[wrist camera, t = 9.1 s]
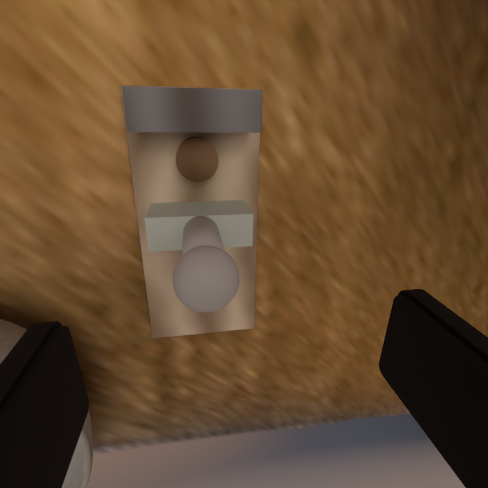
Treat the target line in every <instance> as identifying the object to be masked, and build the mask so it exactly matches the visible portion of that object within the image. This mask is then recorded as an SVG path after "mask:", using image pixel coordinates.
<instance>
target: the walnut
mask: <svg viewBox="0 0 488 488" xmlns="http://www.w3.org/2000/svg"><path fill="white" fill-rule="evenodd" d="M218 164H219V159H218V154H217V151H216V149H215V148H214V147H213V145H212V144H211V143H209V142H208V141H207V140H206V139H204V138H201V137H190V138H187V139H186V140H184V141H183V142H182V143H181V144H180V146H179V148H178V150H177V153H176V166H177V168H178V170H179V172H180V173H181V175H182V176H183V177H185V178H186V179H188V180H190V181H193V182H203V181H206V180H208V179H210V178H211V177H212V176H213V175H214V174H215V172H216V170H217V168H218Z"/></svg>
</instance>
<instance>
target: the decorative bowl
mask: <svg viewBox="0 0 488 488" xmlns="http://www.w3.org/2000/svg"><path fill="white" fill-rule="evenodd" d="M26 330H27V329H25V328H23V327H21V326H19V325H16V324H14V323H11V322H8V321H5V320H2V319H0V364H1V363H2V361H3V360H4V359H5V357H6V356H7V355H8V354H9V352H10V351H11V350H12V348H13V347H14V346H15V345H16V343H17V342H18V341H19V339H20V338H21V337H22V335H23V334H24V333H25V332H26ZM92 460H93V435H92V425H91V417H90V412H89V409H88V414H87V417H86V420H85V423H84V426H83V428H82V431H81V434H80V437H79V440H78V443H77V446H76V448H75V451H74V454H73V457H72V460H71V463H70V466H69V468H68V471H67V474H66V477H65V480H64V483H63V485H62V488H86V487H87V484H88V482H89V478H90V474H91V467H92Z"/></svg>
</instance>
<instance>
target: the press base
mask: <svg viewBox="0 0 488 488" xmlns="http://www.w3.org/2000/svg"><path fill="white" fill-rule="evenodd" d="M120 87H121V95H122V103H123V111H124V119H125V126H126V134H127V142H128V150H129V158H130V166H131V173H132V181H133V189H134V197H135V205H136V213H137V221H138V228H139V236H140V244H141V252H142V260H143V268H144V276H145V283H146V291H147V299H148V307H149V315H150V323H151V330H152V338H162V337H172V336H182V335H192V334H202V333H212V332H222V331H231V330H241V329H251V328H254V320H255V285H256V249H257V214H258V178H259V143H260V133H261V124H262V91H263V90H258V89H225V88H191V87H158V86H124V85H120ZM190 137H201V138H204V139H206V140H207V141H208V142H209V143H211V144H212V145H213V147H214V148H215V149H216V151H217V154H218V159H219V164H218V168H217V170H216V172H215V174H214V175H213V176H212V177H211V178H210V179H208V180H206V181H203V182H193V181H190V180H188V179H186V178H185V177H183V176H182V175H181V173H180V172H179V170H178V168H177V166H176V153H177V150H178V148H179V146H180V144H181V143H182V142H183V141H184V140H186V139H187V138H190ZM232 200H244V202H245V203H246V204H247V206H248V207H249V209H250V210H251V211H252V213H253V246H246V247H228V248H224V250H225V251H226V252H227V253H228V254H229V255H230V256H231V257H232V258H233V259H234V261H235V262H236V264H237V267H238V270H239V275H240V281H239V288H238V290H237V293H236V295H235V297H234V298H233V299H232V301H231V302H230V303H229V304H228V305H226V306H225V307H223V308H222V309H220V310H217V311H214V312H206V313H205V312H197V311H194V310H192V309H190V308H188V307H187V306H185V305H184V304H183V303H182V302H181V301H180V300H179V298H178V297H177V295H176V293H175V290H174V287H173V272H174V268H175V266H176V264H177V262H178V261H179V259H180V258H181V257H182V250H174V251H156V252H148V243H147V235H146V226H145V216H146V214H147V212H148V209H149V207H150V205H151V203H167V202H199V201H232Z"/></svg>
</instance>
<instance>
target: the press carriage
mask: <svg viewBox="0 0 488 488" xmlns="http://www.w3.org/2000/svg"><path fill="white" fill-rule="evenodd" d="M145 226H146V235H147V243H148V252H156V251H174V250H182V257H181V258H180V259H179V261H178V262H177V264H176V266H175V268H174V272H173V287H174V290H175V293H176V295H177V297H178V298H179V300H180V301H181V302H182V303H183V304H184V305H185V306H187V307H188V308H190V309H192V310H194V311H197V312H205V313H206V312H214V311H217V310H220V309H222V308H223V307H225V306H226V305H228V304H229V303H230V302H231V301H232V299H233V298H234V297H235V295H236V293H237V290H238V288H239V281H240V275H239V270H238V267H237V264H236V262H235V261H234V259H233V258H232V257H231V256H230V255H229V254H228V253H227V252H226V251H225V250H224V248H228V247H246V246H253V213H252V211H251V210H250V209H249V207H248V206H247V204H246V203H245V202H244V200H232V201H199V202H167V203H151V205H150V207H149V209H148V212H147V214H146V216H145Z"/></svg>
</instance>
